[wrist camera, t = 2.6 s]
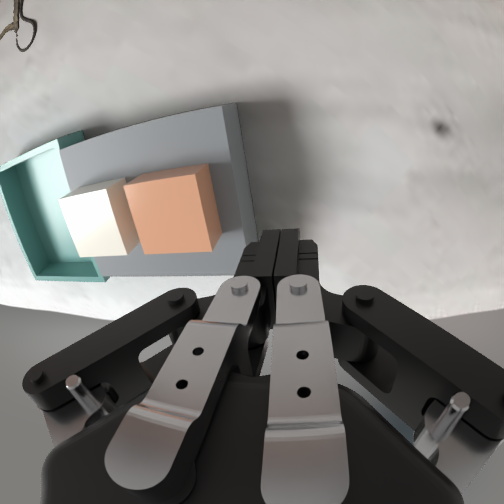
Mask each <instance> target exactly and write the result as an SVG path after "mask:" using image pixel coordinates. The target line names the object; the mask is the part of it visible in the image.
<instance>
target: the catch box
mask: <svg viewBox="0 0 504 504" xmlns="http://www.w3.org/2000/svg"><path fill="white" fill-rule="evenodd" d="M81 141H84V135H83V131H82V130H81V131H78V132H75V133H72V134H69V135H66V136H64V137H61V138H58V139H55V140H53V141H51V142H49V143H46V144H44V145H42V146H40V147H38V148H35V149H33V150H31V151H29V152H27V153H25V154H23V155H21V156H19V157H17V158H15V159H13V160H11V161H9V162H7V163H5V164H3V165H2V166H0V194H1V197H2V200H3V203H4V206H5V209H6V211H7V214H8V217H9V220H10V222H11V225H12V228H13V230H14V233H15V235H16V238H17V240H18V242H19V245H20V247H21V250H22V252H23V254H24V256H25V259H26V261H27V263H28V265H29V267H30V269H31V272H32V274H33V276H34V278H35V280H45V281H77V282H106V281H107V280H108V279H109V278H110V276H102V275H101V273H100V271H99V268H98V266H97V263H96V261H95V258H94V257H80V256H79V254H78V252H77V249H76V247H75V244H74V242H73V239H72V236H71V234H70V231H69V228H68V226H67V223H66V220H65V217H64V215H63V212H62V209H61V206H60V203H59V199H60V198H62V197H63V196H65V195H67V194H68V193H70V188H69V185H68V182H67V178H66V175H65V171H64V168H63V164H62V160H61V157H60V153H59V150H61V149H63V148H66V147H68V146H71V145H74V144H76V143H79V142H81Z"/></svg>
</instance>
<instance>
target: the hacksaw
mask: <svg viewBox="0 0 504 504" xmlns="http://www.w3.org/2000/svg"><path fill="white" fill-rule="evenodd" d="M22 5H23V0H14V11H13V13H14V17H13V20H14V22H12V23H11V24H9V25H8V26H7V27H6V28H5V29H4V30H3V32H2V33H1V35H0V40H1V38H2V37H3V36H4V34H5V33H6V32H8V31H9V30H14V29H15V31H14V32H15V33H16V36H18V35H17V30H18V29H19V9H20V17H21V19H22V20H23V21H26V22H29V23H31V24H32V25H33V30H34V32H33V37H32V40H31V42H30V44H29V45H28V46H27V47H26V48H25V49H21V48H20V47H19V46H18V43H17V42H18V41H17V38H16V43H17V44H16V45H17V48H18V49H19V50H20V51H21V52H24V51H26V50H27V49H28V48H29V47H30V46H31V44H32V43H33V40H34V38H35V35H36V23H35V22H34V21H33V20H31V19H27V18H25V17H24V16H23V14H22Z"/></svg>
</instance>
